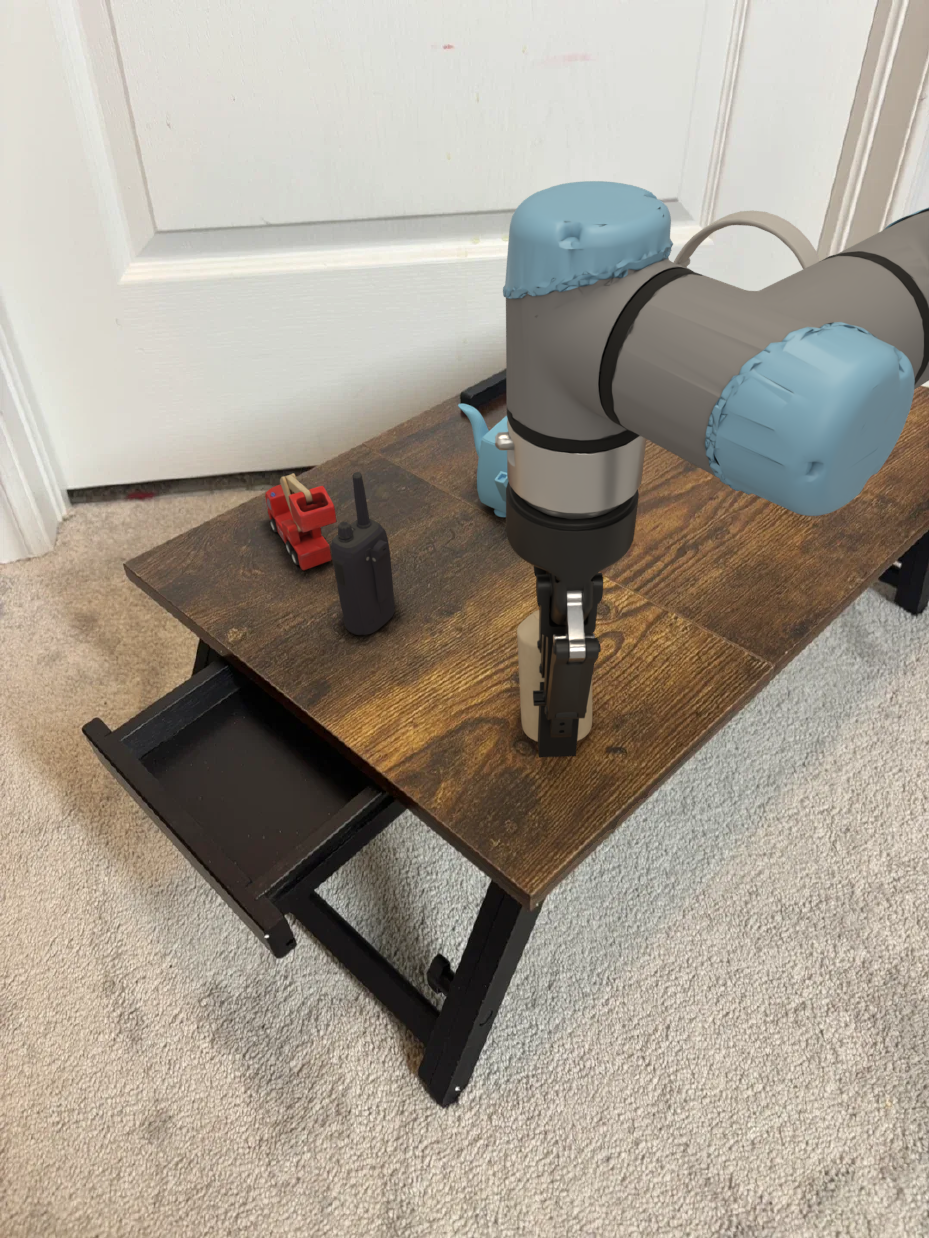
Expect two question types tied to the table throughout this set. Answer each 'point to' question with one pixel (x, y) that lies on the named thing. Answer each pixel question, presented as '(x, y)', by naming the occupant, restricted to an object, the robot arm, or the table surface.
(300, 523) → the toy fire truck
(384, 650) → the table surface
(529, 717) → the candle
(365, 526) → the two-way radio
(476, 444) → the teapot
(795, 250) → the headphones
